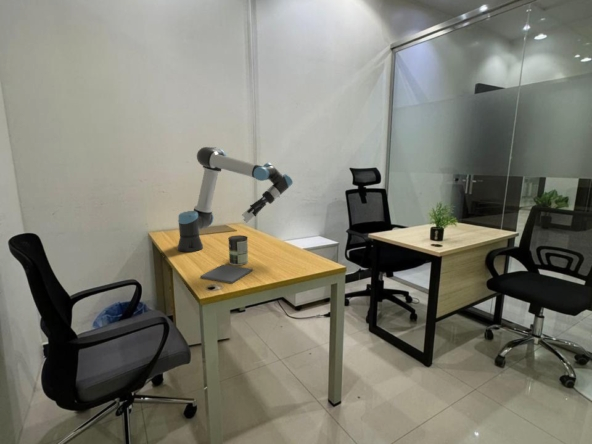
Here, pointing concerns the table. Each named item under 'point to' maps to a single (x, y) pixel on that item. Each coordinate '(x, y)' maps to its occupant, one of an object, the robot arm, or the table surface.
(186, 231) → the robot arm
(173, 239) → the table surface
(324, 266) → the table surface
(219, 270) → the rubber mat
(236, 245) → the coffee can
